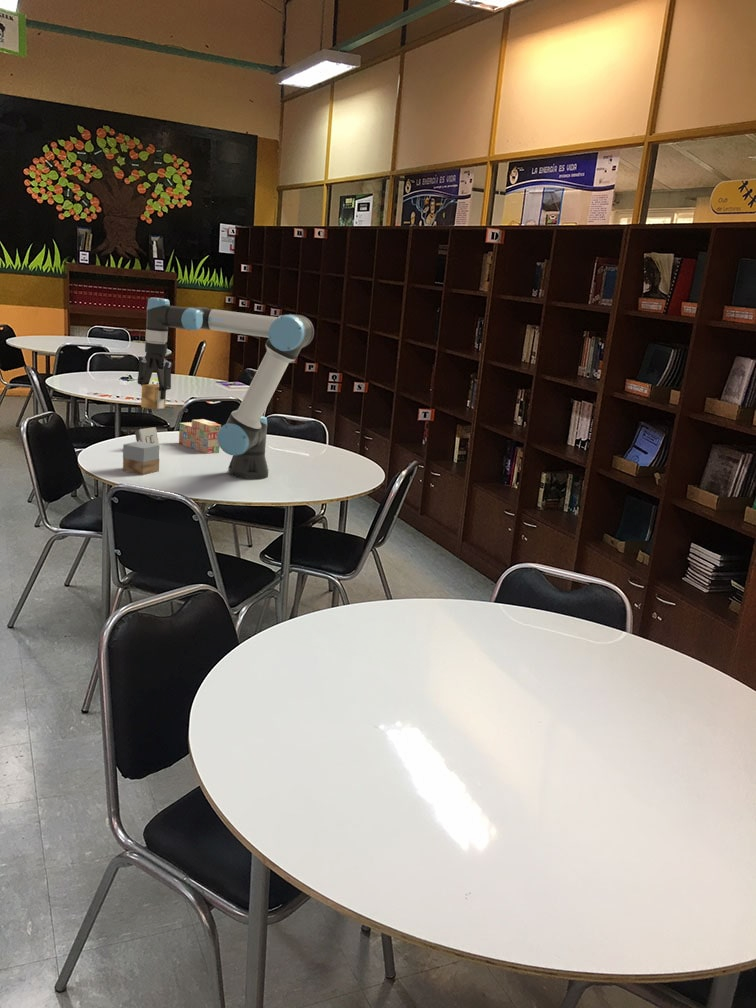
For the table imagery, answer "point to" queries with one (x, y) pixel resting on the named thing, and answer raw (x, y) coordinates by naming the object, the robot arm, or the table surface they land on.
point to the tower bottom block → (140, 466)
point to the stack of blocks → (200, 435)
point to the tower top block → (141, 451)
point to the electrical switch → (147, 435)
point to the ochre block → (150, 396)
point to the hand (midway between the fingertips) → (153, 406)
